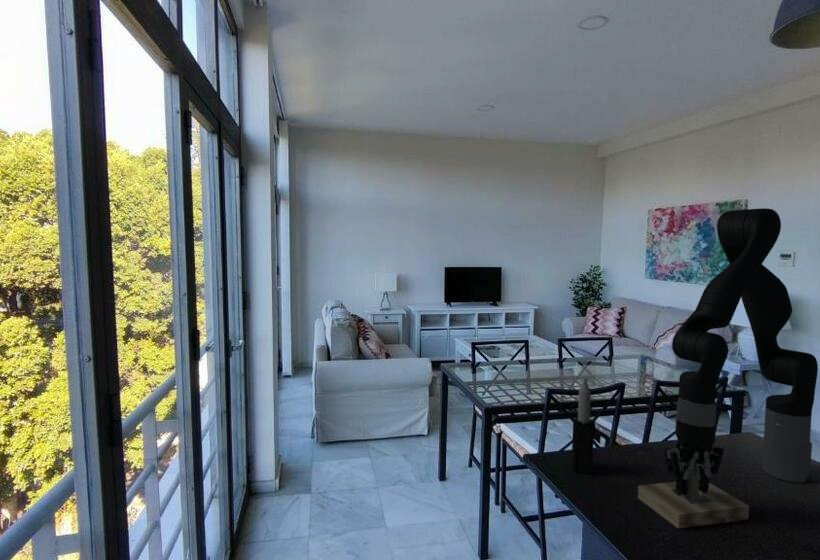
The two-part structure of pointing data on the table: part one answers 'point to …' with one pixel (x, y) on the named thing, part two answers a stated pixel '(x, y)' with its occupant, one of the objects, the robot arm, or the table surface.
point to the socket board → (692, 505)
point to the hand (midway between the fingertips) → (691, 491)
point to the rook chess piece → (693, 488)
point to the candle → (583, 434)
